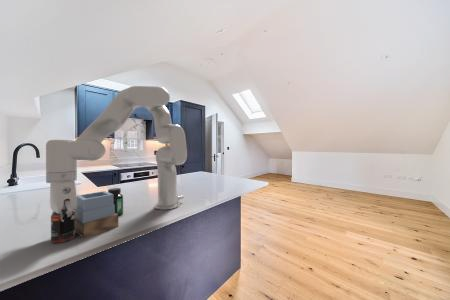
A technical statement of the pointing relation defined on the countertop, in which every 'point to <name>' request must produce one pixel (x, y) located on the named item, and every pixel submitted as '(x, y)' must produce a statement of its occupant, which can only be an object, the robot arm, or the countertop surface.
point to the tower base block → (96, 225)
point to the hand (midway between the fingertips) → (62, 229)
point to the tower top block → (94, 206)
